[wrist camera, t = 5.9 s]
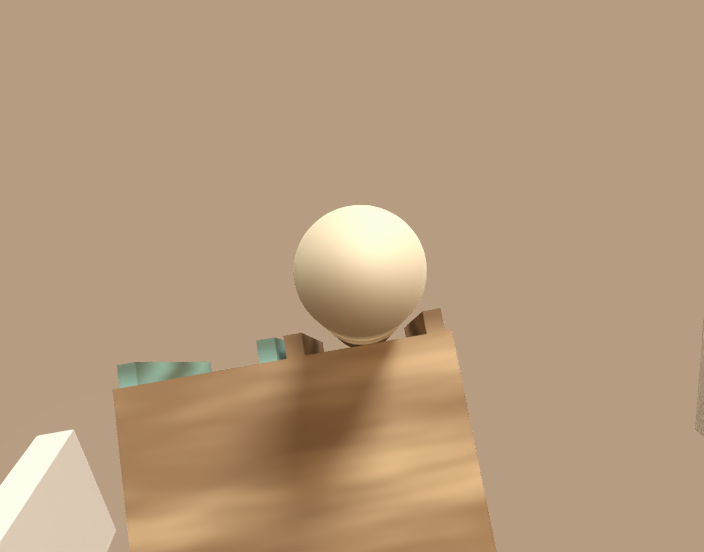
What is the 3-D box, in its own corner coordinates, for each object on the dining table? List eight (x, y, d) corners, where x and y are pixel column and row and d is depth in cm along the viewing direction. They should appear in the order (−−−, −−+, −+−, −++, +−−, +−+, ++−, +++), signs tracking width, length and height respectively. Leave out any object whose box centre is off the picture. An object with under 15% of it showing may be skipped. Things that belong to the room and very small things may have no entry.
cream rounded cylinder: (432, 330, 17) (420, 199, 17) (298, 341, 17) (289, 210, 17) (398, 347, 34) (392, 282, 35) (333, 352, 34) (328, 287, 35)
